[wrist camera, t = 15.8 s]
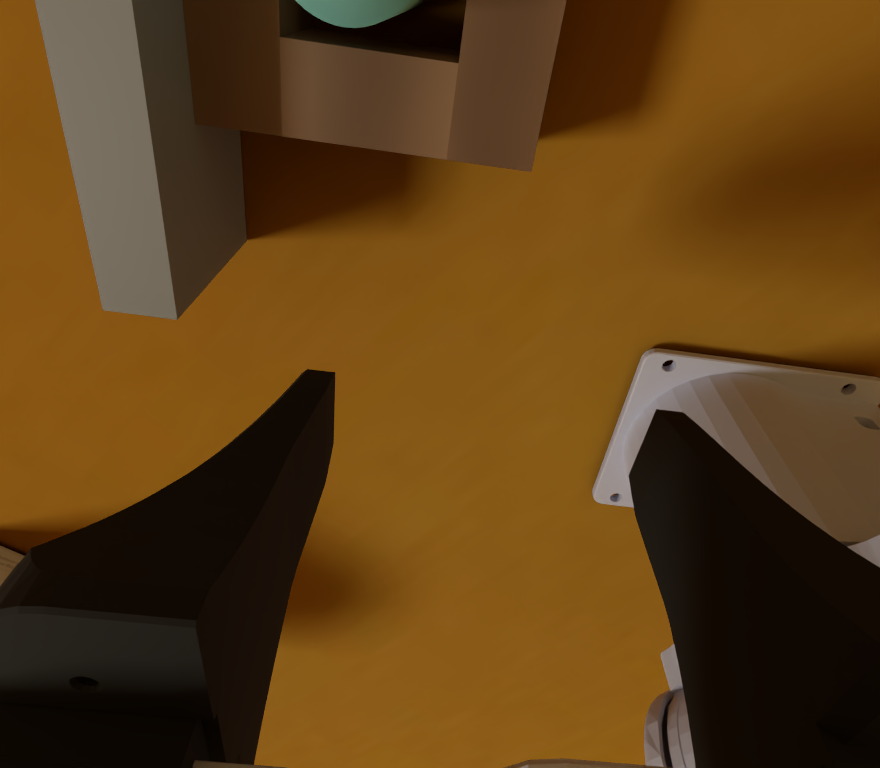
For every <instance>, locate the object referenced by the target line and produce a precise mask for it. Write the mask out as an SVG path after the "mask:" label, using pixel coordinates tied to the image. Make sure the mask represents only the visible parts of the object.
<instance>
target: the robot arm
mask: <svg viewBox="0 0 880 768" xmlns="http://www.w3.org/2000/svg"><path fill="white" fill-rule="evenodd" d="M667 360H673V362H672V364H670V365H669V366H662V365H663V363H664V362H666V361H667ZM847 384H850V385H849V386H848V387H847V388H845V389H842V388H843V387H844V386H845V385H847ZM334 401H335V372H326V371H318V370H309V369H307V370H306V371H304V372H303V373H302V374H301V375H300V376H299V377H298V378H297V379H296V381H295V382H294V383H293V384H292V385H291V386H290V387H289V388H288V389H287V390H286V391H285V392H284V393H283V395H282V396H281V397H280V398H279V399H278V400H277V401H276V402H275V403H274V404H273V405H272V406H271V407H270V408H268V409H267V410H266V411H265V412H264V413H263V414H262V415H261V416H260V417H259V418H258V419H257V420H256V421H255V422H254V423H253V424H252V425H250V426H249V427H248V428H247V429H246V430H245V431H243V432H242V433H241V434H240V435H239V436H237V437H236V438H235V439H234V440H233V441H232V442H230V443H229V444H228V445H227V446H225V447H224V448H223V449H222V450H220V451H219V452H218V453H216V454H215V455H214V456H212V457H211V458H210V459H208V460H207V461H206V462H204V463H203V464H201V465H200V466H198V467H197V468H195V469H194V470H193V471H191V472H190V473H188V474H186V475H185V476H183V477H182V478H180V479H178V480H177V481H175V482H173V483H172V484H170V485H168V486H166V487H165V488H163V489H161V490H160V491H158V492H156V493H154V494H153V495H151V496H149V497H147V498H146V499H144V500H142V501H140V502H138V503H136V504H134V505H132V506H130V507H128V508H126V509H124V510H122V511H120V512H118V513H115V514H113V515H111V516H109V517H107V518H105V519H103V520H101V521H98V522H96V523H94V524H91V525H89V526H87V527H84V528H82V529H79V530H77V531H74V532H72V533H69V534H67V535H64V536H62V537H59V538H57V539H54V540H52V541H49V542H47V543H44V544H42V545H39V546H36V547H33V548H31V549H30V551H29V552H28V553H27V554H26V555H25V556H24V558H23V559H22V560H21V561H20V562H19V563H18V564H17V565H16V567H15V568H14V569H13V570H12V571H11V573H10V574H9V575H8V577H7V578H6V579H5V580H4V582H3V583H2V584H1V586H0V768H285V767H273V766H261V765H254V760H255V755H256V750H257V745H258V740H259V735H260V729H261V724H262V719H263V715H264V710H265V705H266V700H267V695H268V690H269V685H270V681H271V676H272V671H273V666H274V662H275V657H276V653H277V648H278V643H279V639H280V634H281V630H282V625H283V621H284V616H285V612H286V608H287V603H288V599H289V595H290V590H291V586H292V582H293V579H294V576H295V572H296V569H297V565H298V562H299V560H300V557H301V554H302V551H303V548H304V545H305V542H306V539H307V536H308V533H309V530H310V527H311V524H312V521H313V518H314V515H315V512H316V509H317V506H318V504H319V501H320V498H321V495H322V492H323V488H324V485H325V482H326V478H327V473H328V468H329V463H330V458H331V453H332V448H333V441H334ZM879 403H880V378H878V377H873V376H866V375H858V374H851V373H843V372H835V371H828V370H820V369H812V368H805V367H797V366H790V365H782V364H774V363H767V362H759V361H751V360H744V359H736V358H729V357H721V356H713V355H706V354H698V353H690V352H683V351H675V350H668V349H660V348H653V349H650V350H648V351H646V352H645V353H644V354H643V355H642V357H641V359H640V362H639V365H638V367H637V370H636V373H635V376H634V378H633V381H632V384H631V386H630V389H629V392H628V395H627V397H626V400H625V403H624V405H623V408H622V411H621V414H620V416H619V419H618V422H617V424H616V427H615V430H614V433H613V435H612V438H611V441H610V443H609V446H608V449H607V452H606V454H605V457H604V460H603V462H602V465H601V468H600V471H599V473H598V476H597V479H596V482H595V484H594V487H593V490H592V494H593V498H594V500H595V501H596V502H598V503H602V504H609V505H618V506H626V507H634V511H635V516H636V519H637V522H638V525H639V529H640V532H641V535H642V538H643V541H644V544H645V547H646V550H647V553H648V556H649V559H650V562H651V565H652V568H653V571H654V574H655V577H656V580H657V583H658V586H659V589H660V592H661V595H662V598H663V601H664V604H665V608H666V612H667V615H668V619H669V622H670V627H671V631H672V636H673V641H674V644H673V645H672V646H671V647H669V648H668V649H666V650H665V651H663V652H662V653H661V654H660V655H661V659H662V663H663V666H664V670H665V673H666V677H667V680H668V684H669V687H670V690H668V691H666V692H664V693H663V694H661V695H659V696H658V697H657V698H656V699H655V700H654V701H653V702H652V704H651V705H650V707H649V710H648V712H647V715H646V721H645V727H644V749H645V764H646V765H635V764H623V763H611V762H599V761H587V760H575V759H538V760H528V761H524V762H521V763H518V764H515V765H511V766H508V767H505V768H880V408H879V407H878V405H879ZM616 493H618V495H615V496H612V495H613V494H616Z"/></svg>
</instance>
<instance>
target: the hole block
mask: <svg viewBox="0 0 880 768" xmlns="http://www.w3.org/2000/svg"><path fill="white" fill-rule="evenodd" d="M566 1H567V0H467V1H466V9H465V17H464V25H463V33H462V41H461V49H460V50H457V49H450V48H443V47H437V46H430V45H423V44H416V43H410V42H403V41H396V40H389V39H383V38H376V37H369V36H362V35H356V34H349V33H342V32H335V31H329V30H322V29H315V28H312V14H311V13H309V12H308V11H307V10H305V9H304V8H303V7H302V6H301V5H300V4H299V3H297V2H296V1H295V0H183V9H184V19H185V29H186V39H187V49H188V59H189V69H190V79H191V89H192V99H193V109H194V119H195V124H198V125H205V126H212V127H219V128H226V129H233V130H240V131H247V132H254V133H261V134H268V135H275V136H283V137H290V138H297V139H304V140H311V141H318V142H325V143H332V144H339V145H346V146H353V147H360V148H367V149H374V150H381V151H388V152H395V153H402V154H409V155H416V156H423V157H430V158H437V159H444V160H451V161H458V162H466V163H473V164H480V165H487V166H494V167H501V168H508V169H515V170H522V171H529V172H531V171H532V166H533V161H534V156H535V151H536V146H537V142H538V137H539V132H540V127H541V122H542V117H543V112H544V108H545V103H546V98H547V93H548V88H549V83H550V78H551V74H552V69H553V64H554V59H555V54H556V49H557V45H558V40H559V35H560V30H561V25H562V20H563V15H564V11H565V6H566Z"/></svg>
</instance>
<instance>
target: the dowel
mask: <svg viewBox="0 0 880 768" xmlns="http://www.w3.org/2000/svg"><path fill="white" fill-rule="evenodd" d="M295 1H296V2H297V3H299V4H300V5H301V6H302V7H303V8H304V9H305V10H307V11H308V12H309V13H311V14H312V15H313V16H315V17H317V18H319V19H321V20H322V21H325V22H327V23H330V24H333V25H336V26H341V27H348V28H360V27H367V26H371V25H375V24H377V23H380V22H382V21H385V20H387V19H389V18H392V17H394V16H397V15H399V14H401V13H404V12H406V11H409V10H411V9H413V8H415V7H417V6H419V5H420V4H421V3H423V2H424V1H425V0H295Z"/></svg>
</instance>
